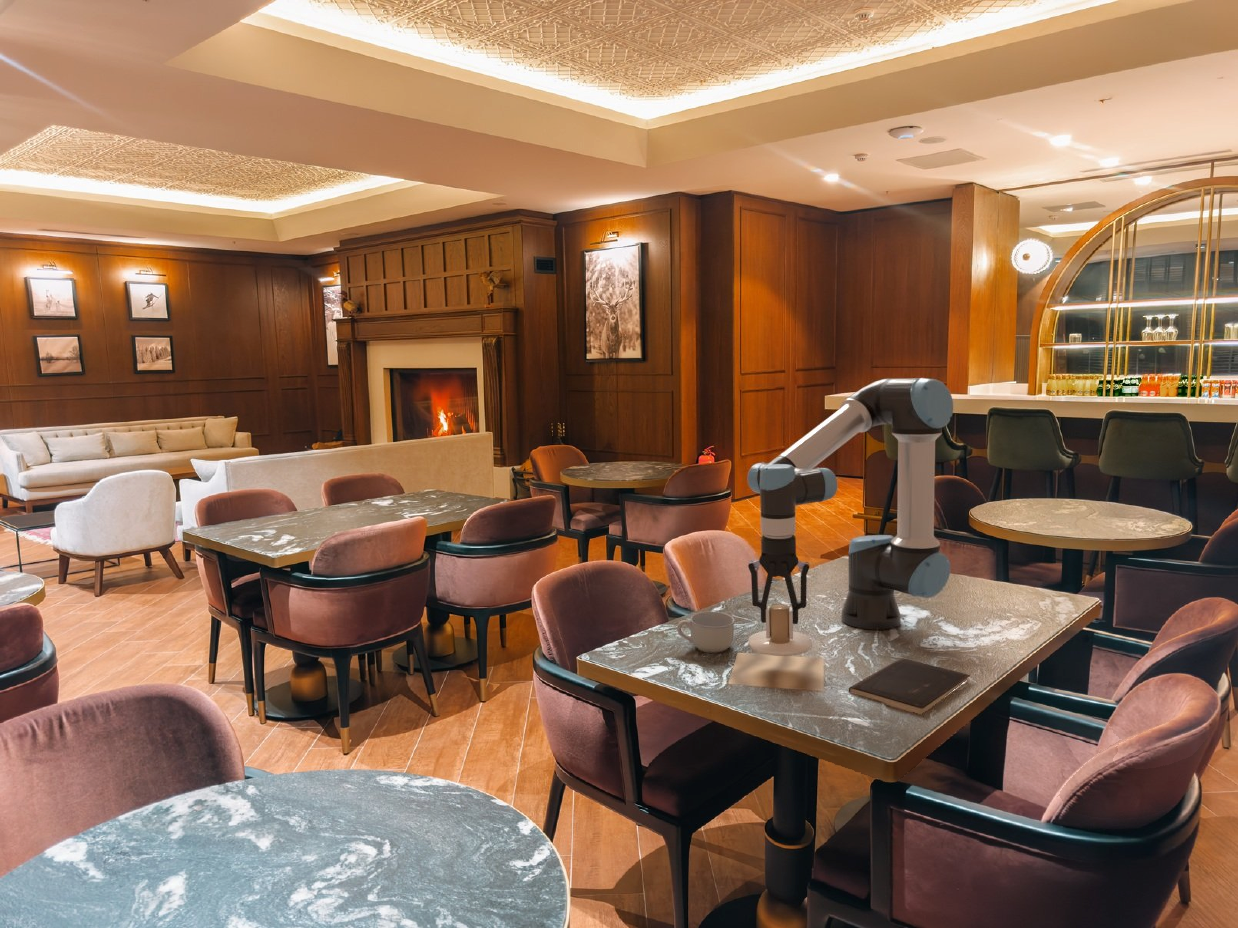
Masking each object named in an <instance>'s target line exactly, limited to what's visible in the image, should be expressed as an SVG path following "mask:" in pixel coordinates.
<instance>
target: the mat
mask: <svg viewBox="0 0 1238 928" xmlns="http://www.w3.org/2000/svg"><path fill="white" fill-rule="evenodd" d="M824 664H825V659H824V657H809V656H798V655H792V656H773V655H766V654H762V653H749V652H737V654H736V657H735V661H734V664H733V666H732V669H731V670H732V671H731V674H730V677H729V680H728V684H727V685H733V686H747V687H758V688H771V689H783V690H784V689H785V690H786V689H787V690H796V691H811V692H812V691H813V692H824V677H825V676H824V674H825V672H824V670H825V669H824V668H825V666H824Z"/></svg>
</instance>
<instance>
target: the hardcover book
mask: <svg viewBox="0 0 1238 928" xmlns="http://www.w3.org/2000/svg"><path fill="white" fill-rule="evenodd" d="M969 677H971V675H970V674H969V673H964V672H961V671H960V672H959V671H956V670H952V669H948V668H943V667H939V666H937V665H931V664H928V663H923V662H920V661H915V660H911V659H908V658H903V657H900V658H899V659H897V660H895V661H894V662H891V663H890V664H887V666H885V667H883V668H882V669H879V670H877V671H875V672H874V673H873V674H871V675H869V676H867V677H866V678H864V679H862V680H860V681H858V682H857V683H855V684H853V685H851V686H849V688H848V693H852V694H855V695H858V696H862V697H865V698H868V699H872V700H876V701H879V702H881V703H884V705H887V706H889V707H893V708H896V709H900V710H902V711H903V710H904V711H907V712H910V713H913V712H915V713H914V714H916V713H918V714H917V715H920V714H921V715H923V714H924V713H926V712H927V711H928V709H929V710H930V709H931V708H933V707H934V706H936V705H937V704H938V703H937V702H939V701H940V700H941V699H943V698H944V697H945V696H947V695H948V694H949V693H950V692H952V691H953V690H954V689H956V688H957V687H958V686H960V685H961V684H962V683H963V682H965V681H966V680H967V679H968V678H969ZM947 697H948V696H947ZM944 699H945V698H944ZM944 699H943V700H944ZM941 701H942V700H941ZM941 701H940V702H941ZM940 702H939V703H940ZM936 703H937V704H936ZM935 704H936V705H935ZM933 705H934V706H933ZM932 706H933V707H932ZM926 710H927V711H926ZM925 711H926V712H925ZM923 712H924V713H923ZM922 713H923V714H922Z"/></svg>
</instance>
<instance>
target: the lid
mask: <svg viewBox="0 0 1238 928" xmlns="http://www.w3.org/2000/svg"><path fill="white" fill-rule="evenodd" d="M769 607H770V608H769V609H770V638H766V630H762V631H759V632H758V631H757V632H756V633H753V634H751V635H750V636H749V637H748V645H747V646H748V647H749V648H750V649H751V650H752V651H754V652H756V653H758V654H766V655H773V656H799V655H802V654H805V653H807V652H809V651H810V650H811V649H812V647H813V640H812V638H811V637H809V636H808V635H807V634H805V633H802V632H799V631H794V630H793V639H789V608H790V607H789V606H787V605H785V604H784V605H782V604H775V605H774V604H773V605H771V606H769Z"/></svg>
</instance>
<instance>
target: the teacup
mask: <svg viewBox="0 0 1238 928" xmlns="http://www.w3.org/2000/svg"><path fill="white" fill-rule="evenodd" d="M689 619H690V620H688V619H681V620H680V621H679V622H678V623H677V626H676V631H677V634H678V635H679V636H681V637H682V638H683V639H685V640H687V641H688V642H689V644H692V645H694V647H696V648H697V649H698V651H701V652H703V653H709V654H710V653H713V654H714V653H715V654H717V653H721V652H724V651H726V650H727V649H728V648H730V647H731V646H732V644H733V642H734V634H735V631H734V630H735V621H736V620H735V618H734V617H733V616H732V615H730V614H728V613H724V612H719V611H709V610H707V611H701V612H696V613H694V614H692V615H691V617H690V618H689ZM684 625H687V626H688V629H689V631H690V635H687V634H686V633H684V632H683V631H682V627H683V626H684Z"/></svg>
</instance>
